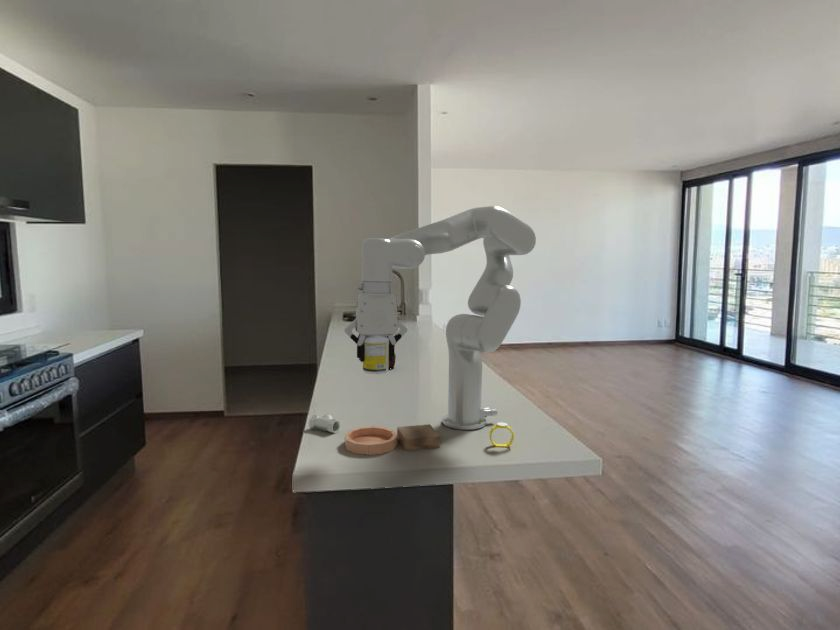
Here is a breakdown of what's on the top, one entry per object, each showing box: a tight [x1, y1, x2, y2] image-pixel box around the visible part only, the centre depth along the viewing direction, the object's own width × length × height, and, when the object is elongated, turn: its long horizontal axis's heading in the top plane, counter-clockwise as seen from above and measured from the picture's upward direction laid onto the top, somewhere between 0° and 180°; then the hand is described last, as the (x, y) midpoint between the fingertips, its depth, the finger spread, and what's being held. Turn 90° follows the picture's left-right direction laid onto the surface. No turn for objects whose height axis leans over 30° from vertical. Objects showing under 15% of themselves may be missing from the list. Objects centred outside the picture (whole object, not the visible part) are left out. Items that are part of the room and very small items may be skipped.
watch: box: [489, 421, 515, 448], centre depth 129 cm, size 6×3×6 cm, turn 86°
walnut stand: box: [396, 423, 441, 452], centre depth 131 cm, size 9×9×3 cm
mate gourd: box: [389, 351, 397, 370], centre depth 216 cm, size 8×8×15 cm
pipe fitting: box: [308, 413, 341, 434], centre depth 141 cm, size 8×4×7 cm
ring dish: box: [344, 426, 398, 456], centre depth 129 cm, size 13×13×2 cm
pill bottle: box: [362, 335, 390, 375], centre depth 126 cm, size 6×6×12 cm
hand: (375, 359), depth 127 cm, fingers closed on pill bottle, 6 cm apart
